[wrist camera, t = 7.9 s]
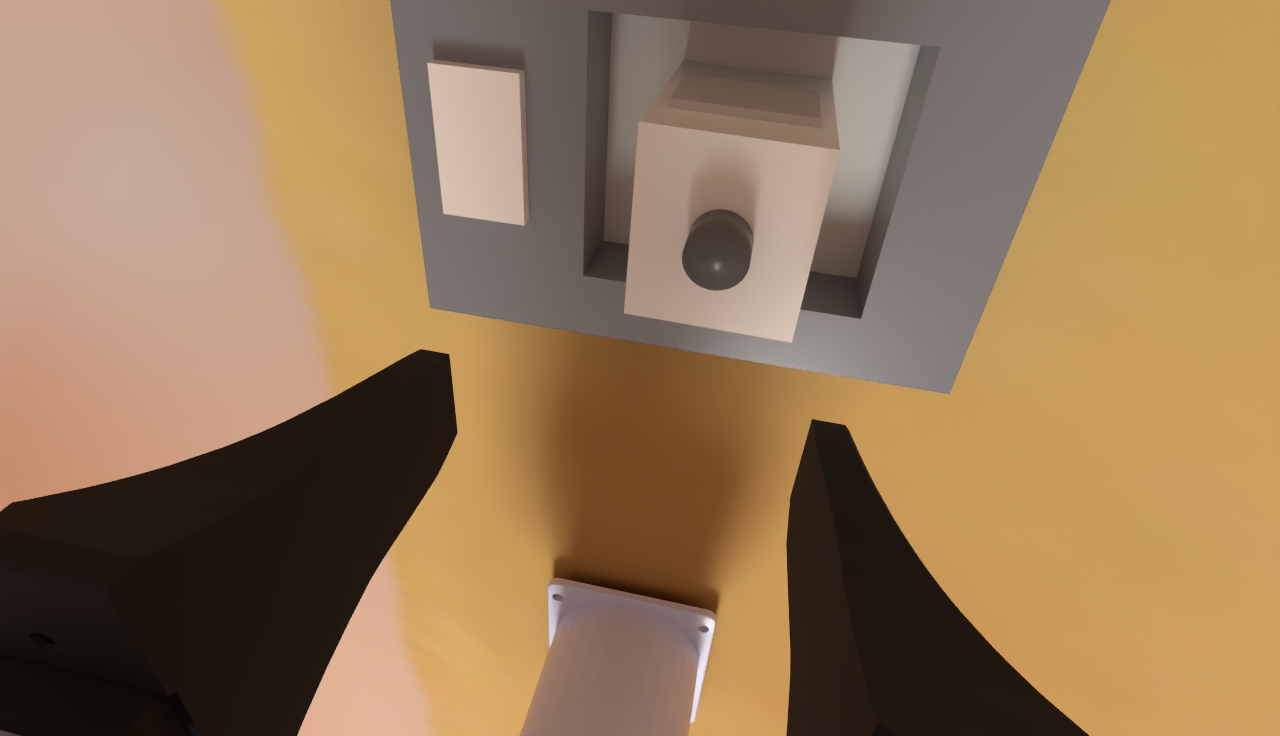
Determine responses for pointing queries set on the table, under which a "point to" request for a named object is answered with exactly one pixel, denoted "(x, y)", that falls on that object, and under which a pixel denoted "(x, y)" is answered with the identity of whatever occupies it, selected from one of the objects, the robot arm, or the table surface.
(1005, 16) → the socket plate
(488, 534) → the table surface
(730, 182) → the plug
